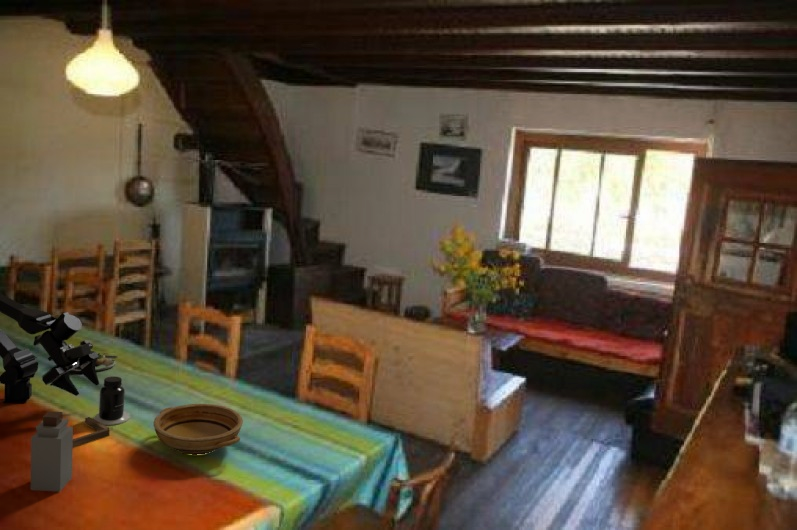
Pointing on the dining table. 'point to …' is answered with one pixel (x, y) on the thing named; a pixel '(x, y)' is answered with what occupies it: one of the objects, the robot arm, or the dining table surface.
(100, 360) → the salad plate
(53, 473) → the perfume bottle
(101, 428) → the wooden u-shaped frame
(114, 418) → the supplement bottle
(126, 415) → the coaster
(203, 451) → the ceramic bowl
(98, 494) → the dining table surface
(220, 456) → the dining table surface
